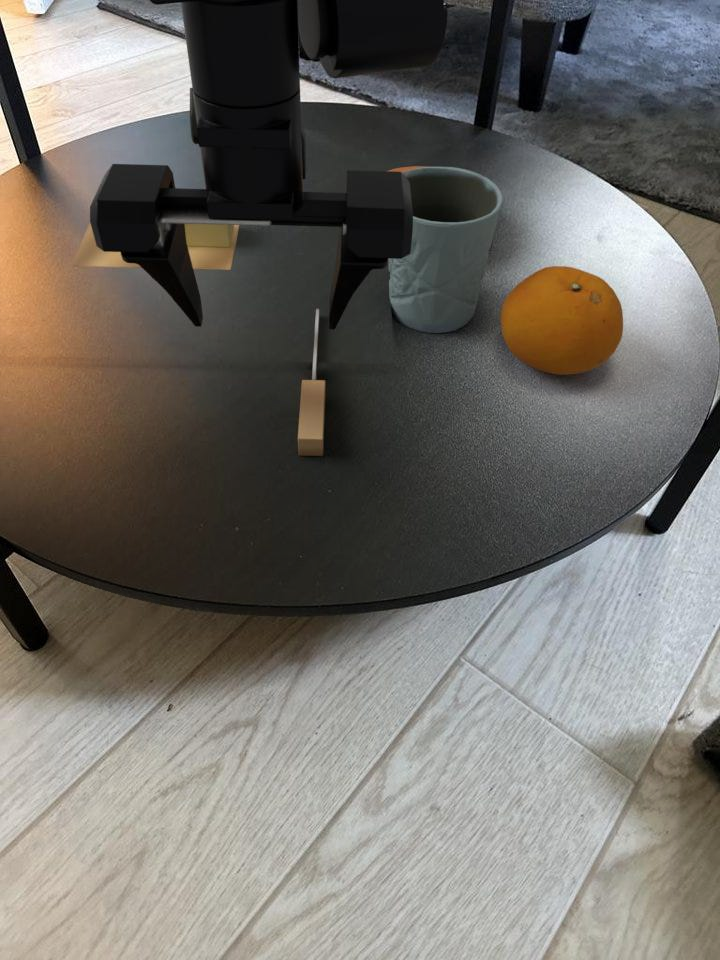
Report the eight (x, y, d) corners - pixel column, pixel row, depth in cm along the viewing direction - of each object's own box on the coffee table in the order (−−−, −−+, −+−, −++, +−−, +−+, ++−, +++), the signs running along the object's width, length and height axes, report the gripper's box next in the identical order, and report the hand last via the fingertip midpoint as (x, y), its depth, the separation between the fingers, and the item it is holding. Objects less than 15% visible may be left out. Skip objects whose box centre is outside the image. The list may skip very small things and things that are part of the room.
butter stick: (162, 246, 76) (157, 219, 74) (168, 225, 79) (164, 199, 77) (230, 247, 77) (227, 221, 74) (234, 227, 79) (231, 201, 77)
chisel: (323, 456, 59) (323, 439, 58) (298, 455, 59) (297, 438, 58) (328, 326, 70) (328, 308, 69) (307, 325, 70) (307, 308, 69)
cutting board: (73, 276, 74) (70, 265, 74) (100, 214, 82) (97, 204, 81) (232, 279, 75) (230, 269, 74) (243, 218, 83) (242, 208, 82)
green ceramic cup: (502, 312, 73) (526, 197, 64) (429, 353, 68) (445, 236, 59) (430, 267, 78) (443, 154, 68) (358, 302, 73) (361, 187, 64)
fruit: (573, 410, 64) (599, 336, 58) (474, 356, 68) (488, 282, 62) (629, 353, 69) (658, 280, 63) (533, 307, 73) (552, 234, 67)
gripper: (412, 37, 45) (395, 262, 56) (103, 27, 44) (151, 256, 56) (424, 116, 37) (401, 355, 49) (54, 105, 37) (121, 349, 49)
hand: (265, 324), depth 51 cm, fingers open, 9 cm apart
